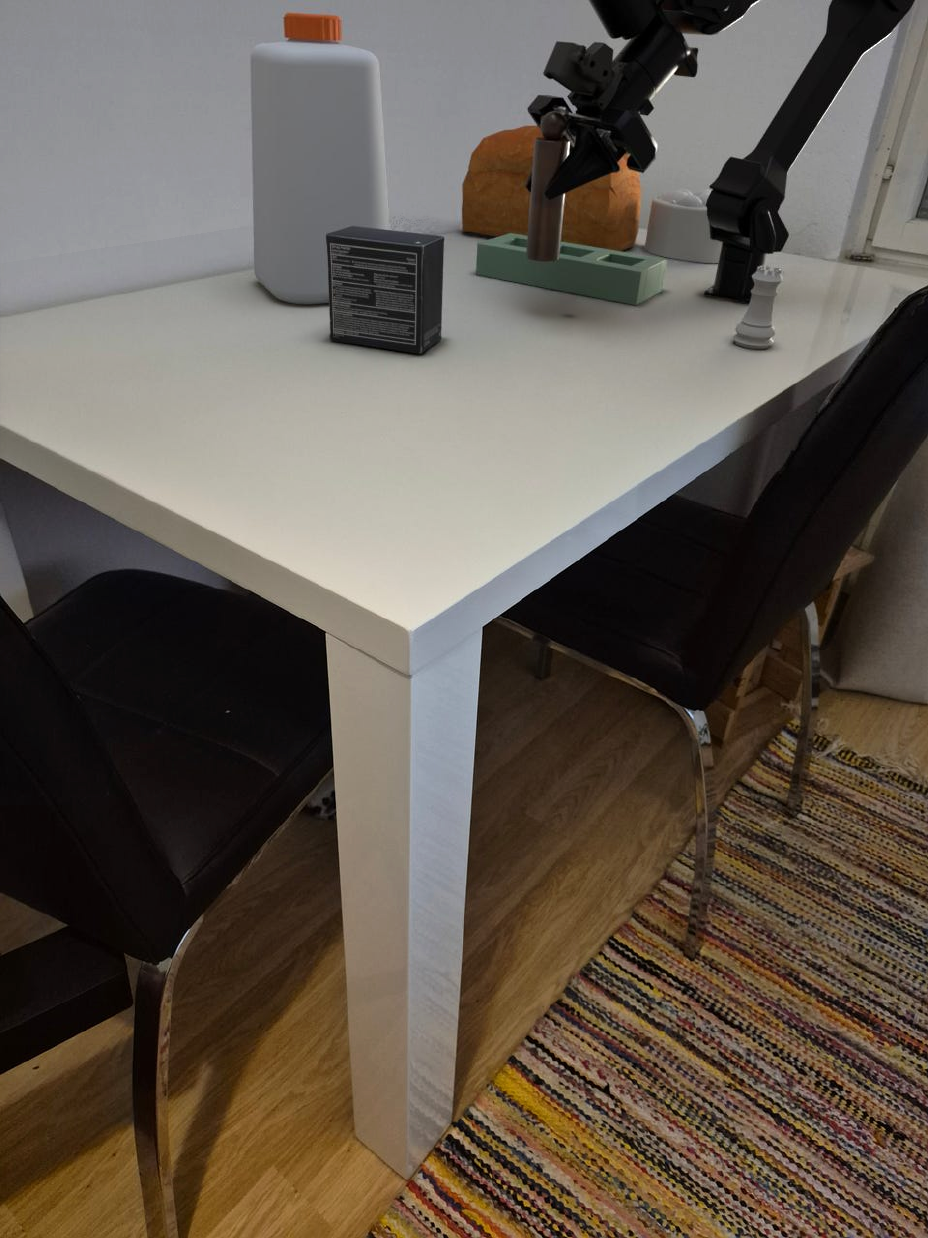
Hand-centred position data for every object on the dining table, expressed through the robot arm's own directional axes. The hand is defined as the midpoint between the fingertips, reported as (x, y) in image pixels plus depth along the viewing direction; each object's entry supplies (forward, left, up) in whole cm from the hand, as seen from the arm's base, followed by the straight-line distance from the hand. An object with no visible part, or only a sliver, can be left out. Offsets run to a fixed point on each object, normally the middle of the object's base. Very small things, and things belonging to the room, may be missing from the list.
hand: (537, 193), depth 96 cm
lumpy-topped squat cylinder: (-47, +3, -13) cm, 49 cm away
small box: (+19, -7, -13) cm, 24 cm away
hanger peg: (-1, +1, -7) cm, 7 cm away
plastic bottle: (+7, -25, -13) cm, 29 cm away
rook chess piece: (-6, +25, -13) cm, 29 cm away
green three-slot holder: (-17, -3, -13) cm, 22 cm away
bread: (-41, -18, -13) cm, 47 cm away
